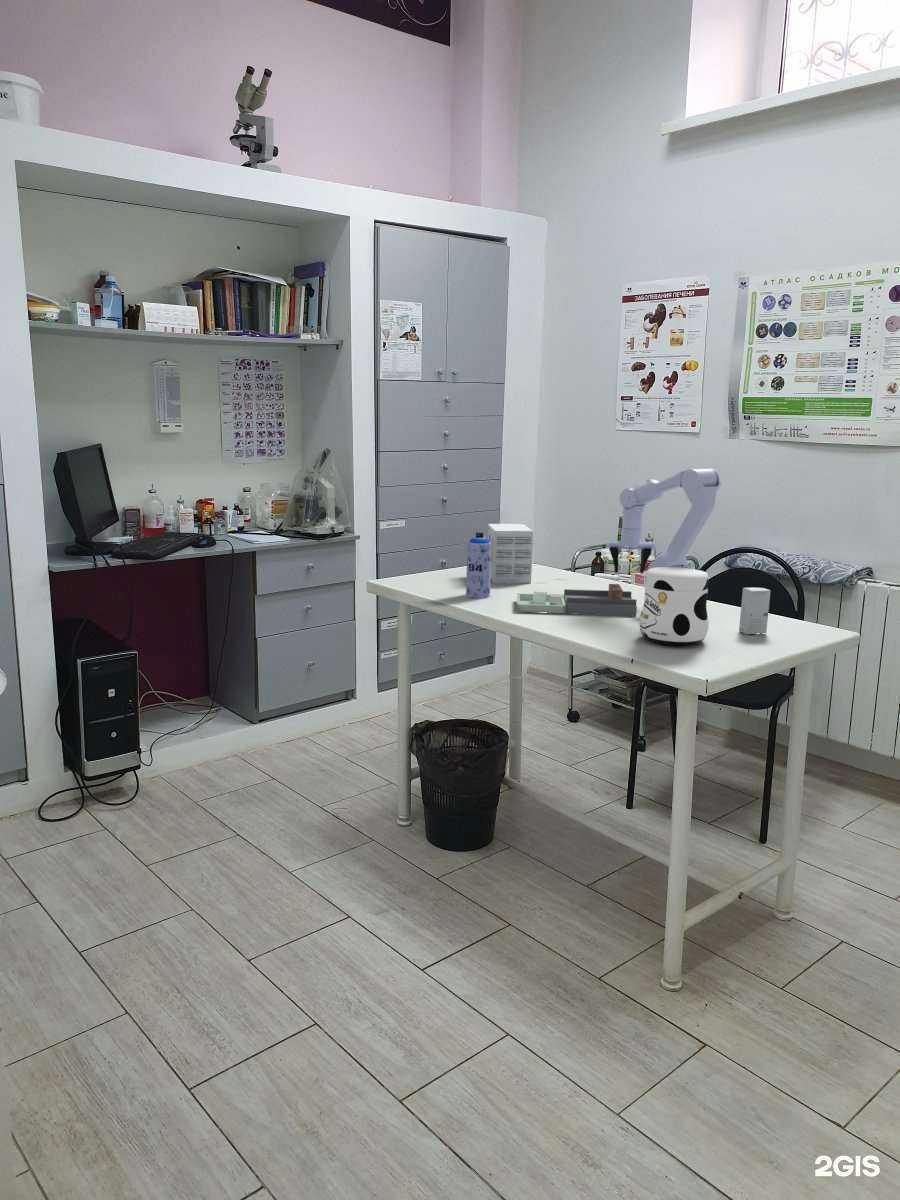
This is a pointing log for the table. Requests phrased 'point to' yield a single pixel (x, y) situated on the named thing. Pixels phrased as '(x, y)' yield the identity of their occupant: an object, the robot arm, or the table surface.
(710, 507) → the robot arm
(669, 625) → the milk container
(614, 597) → the bar
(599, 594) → the channel board
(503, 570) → the supplement box
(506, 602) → the table surface
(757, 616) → the skincare box
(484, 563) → the aerosol can
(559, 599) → the chip near
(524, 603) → the chip tray
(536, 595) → the grey small block
